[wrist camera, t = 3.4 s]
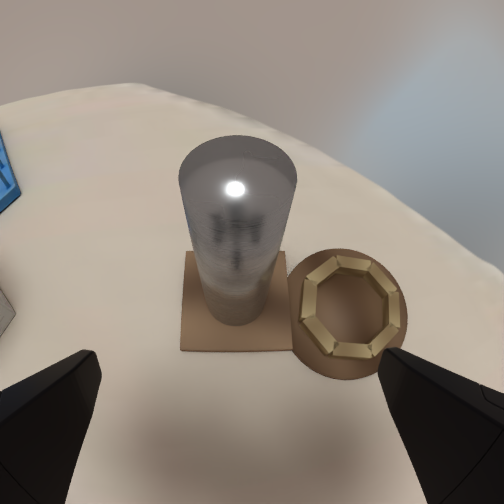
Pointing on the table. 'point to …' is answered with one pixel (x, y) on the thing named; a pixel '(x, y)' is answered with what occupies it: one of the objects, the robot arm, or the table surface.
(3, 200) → the file sorter
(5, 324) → the skincare box
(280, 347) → the stand pad
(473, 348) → the table surface
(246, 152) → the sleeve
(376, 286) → the hub seat
